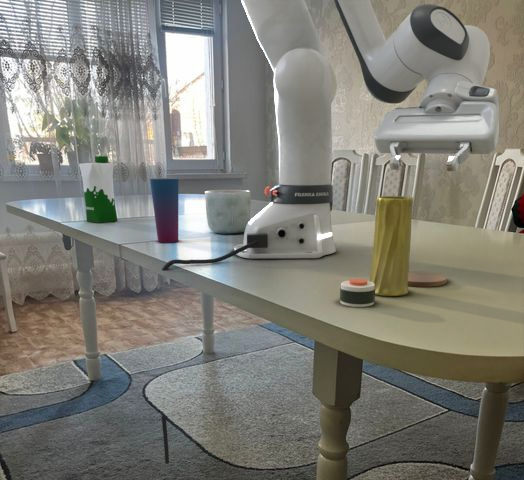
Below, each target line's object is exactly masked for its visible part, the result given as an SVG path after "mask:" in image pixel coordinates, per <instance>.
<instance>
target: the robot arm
mask: <svg viewBox="0 0 524 480" xmlns="http://www.w3.org/2000/svg"><path fill="white" fill-rule="evenodd" d="M240 1H241V4H242V7H243V8H244V11H245V13H246V15H247V18H248V21H249V22H250V25H251V27H252V30H253V32H254V34H255V37H256V40H257V42H258V43H259V45H260V48H261V49H262V50H263V53H264V55H265V57H266V58H267V60H268V63H269V64H270V67H271V69H272V71H273V88H274V105H275V118H276V129H277V138H278V184H276V185H275V186H273V187H272V186H270V185H269V186H266V187H265V188H264V190H263V192H264V194H265V195H266V197H269V204H268V205H266V206H265V207H264V208H263V209H262V210H260V211H259V212H258V213H257V214H255V215H254V216H253V217H252V218H250V221H249V222H248V223H247V225H246V228H245V231H244V232H243V241H242V242H243V243H241V244H240V243H238V244H236V245H234V247H233V251H231V252H228V253H226V254H223V255H221V256H219V257H216V258H207V259H171V260H169V261H167V262H166V263H165V264H164V266H163V267H161V271H162V272H163V271H164V272H165V271H167V270H168V269H169V268H170V267H171V266H174V265H205V264H206V265H209V264H216V263H219V262H223V261H225V260H227V259H230V258H231V257H234V256H238V257H240V258H245V259H252V260H253V259H319V258H321V257H323V256H326V255H331V254H334V253H336V252H337V249H336V246H335V245H336V244H335V239H334V235H333V234H334V233H333V226H332V211H333V205H334V186H333V184H332V167H333V166H332V164H333V163H332V162H333V134H332V131H333V130H332V103H333V101H334V100H335V97H336V94H337V87H338V85H337V84H338V83H337V78H336V74H335V72H334V69H333V66H332V64H331V61H330V59H329V57H328V54H327V52H326V50H325V46H324V44H323V43H322V40H321V38H320V34H319V32H318V30H317V27H316V25H315V22H314V20H313V18H312V15H311V13H310V10H309V8H308V6H307V3H306V0H240ZM333 2H334V5H335V8H336V10H337V13H338V15H339V17H340V20H341V22H342V24H343V27H344V29H345V31H346V33H347V37H348V38H349V40H350V43H351V45H352V48H353V50H354V52H355V55H356V57H357V59H358V63H359V65H360V70H361V74H362V78H363V81H364V83H365V87H366V89H367V91H368V93H369V94H370V95H371V96H372V97H373V98H374V99H376V100H378V101H379V102H382V103H385V104H393V105H395V104H401V103H403V102H404V101H405V100H407V99H408V97H410V95H411V94H412V93H413V92H414V91H415V90H416V88H417V87H418V85H419V84H421V83H422V82H423V81H424V80H426V87H425V90H424V92H423V94H422V97H421V98H420V102H419V104H418V106H412V107H411V106H410V107H396V108H394V109H391V110H390V111H387V112H386V113H385V114H384V116H383V119H382V121H381V122H380V123H379V125H378V127H377V129H376V130H375V132H374V135H373V141H374V145H375V147H376V149H377V151H378V152H379V153H380V154H390V155H391V157H390V161H389V167H390V170H392V171H393V170H394V171H400V170H401V167H402V166H403V159H402V155H401V154H428V155H429V154H437V155H439V154H440V155H441V154H444V155H449V156H448V158H447V160H446V163H445V167H446V172H457V171H458V168H459V165H461V164H462V163H464V162H465V161H466V160H468V159H469V157H470V155H489V154H491V153H492V152H494V151H495V150H496V148H497V146H498V142H499V135H500V118H499V117H500V102H499V95H498V90H497V89H496V88H494V87H489V86H483V83H484V80H485V77H486V74H487V71H488V67H489V63H490V58H491V44H490V40H489V38H488V37H489V36H487V34H486V33H485V31H483V30H482V29H481V28H479V27H478V26H476V25H473V24H472V25H471V24H466V25H464V24H463V22H462V21H461V20H460V18H458V16H457V15H455V13H453V12H452V11H451V10H449V9H447V7H443V6H441V5H438V4H432V3H425V4H424V3H423V4H419V5H417V6H416V7H414V8H413V9H412V11H411V12H410V13H409V14H408V15H407V16H406V17H405V18H404V19H403V20H402V22H401V23H400V24H399V25H398V26H397V27H396V29H395V30H394V31H393V32H392V34H391V35H390V36H389V37H388V38H386V37H385V35H384V32H383V29H382V27H381V25H380V22H379V20H378V17H377V15H376V13H375V10H374V8H373V6H372V3H371V0H333ZM166 416H167V415H161V425H162V436H163V451H164V464H165V465H168V464H170V454H169V438H168V437H169V436H168V426H167V417H166Z"/></svg>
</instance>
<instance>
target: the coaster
mask: <svg viewBox="0 0 524 480" xmlns="http://www.w3.org/2000/svg"><path fill="white" fill-rule="evenodd" d="M447 283H448V276H446V275H445V274H442V273H438V272H434V271H433V272H432V271H424V270H409V275H408V287H419V288H433V287H434V288H435V287H439V286H444V285H446V284H447Z"/></svg>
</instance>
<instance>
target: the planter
mask: <svg viewBox="0 0 524 480" xmlns="http://www.w3.org/2000/svg"><path fill="white" fill-rule="evenodd" d="M251 192H252V191H251V190H245V189H214V190H206V191H204V198H205V199H204V200H205V212H206V221H207V226H208V229H209V230H210V231H211V232H212V233H214V234H223V235H233V234H234V235H235V234H241V233H245V228H246V225H247V223H248V222H249V221H250V220H251V199H252V198H251V195H252V193H251Z"/></svg>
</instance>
